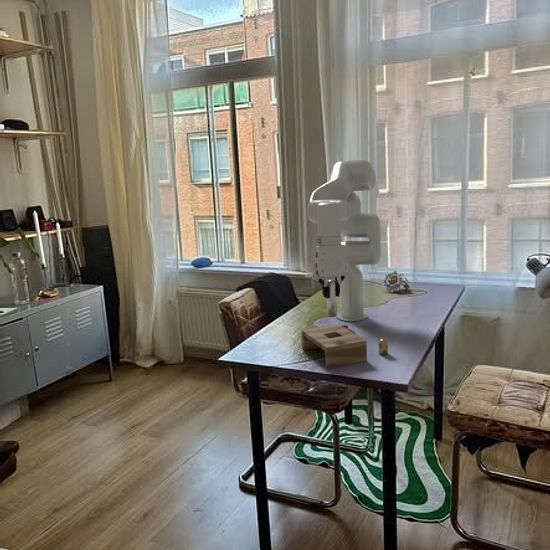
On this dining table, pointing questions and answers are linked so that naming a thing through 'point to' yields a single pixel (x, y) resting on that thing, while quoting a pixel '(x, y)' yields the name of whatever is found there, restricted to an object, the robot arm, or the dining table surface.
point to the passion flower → (395, 282)
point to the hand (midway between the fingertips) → (331, 296)
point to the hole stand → (336, 345)
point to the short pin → (383, 346)
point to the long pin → (332, 299)
